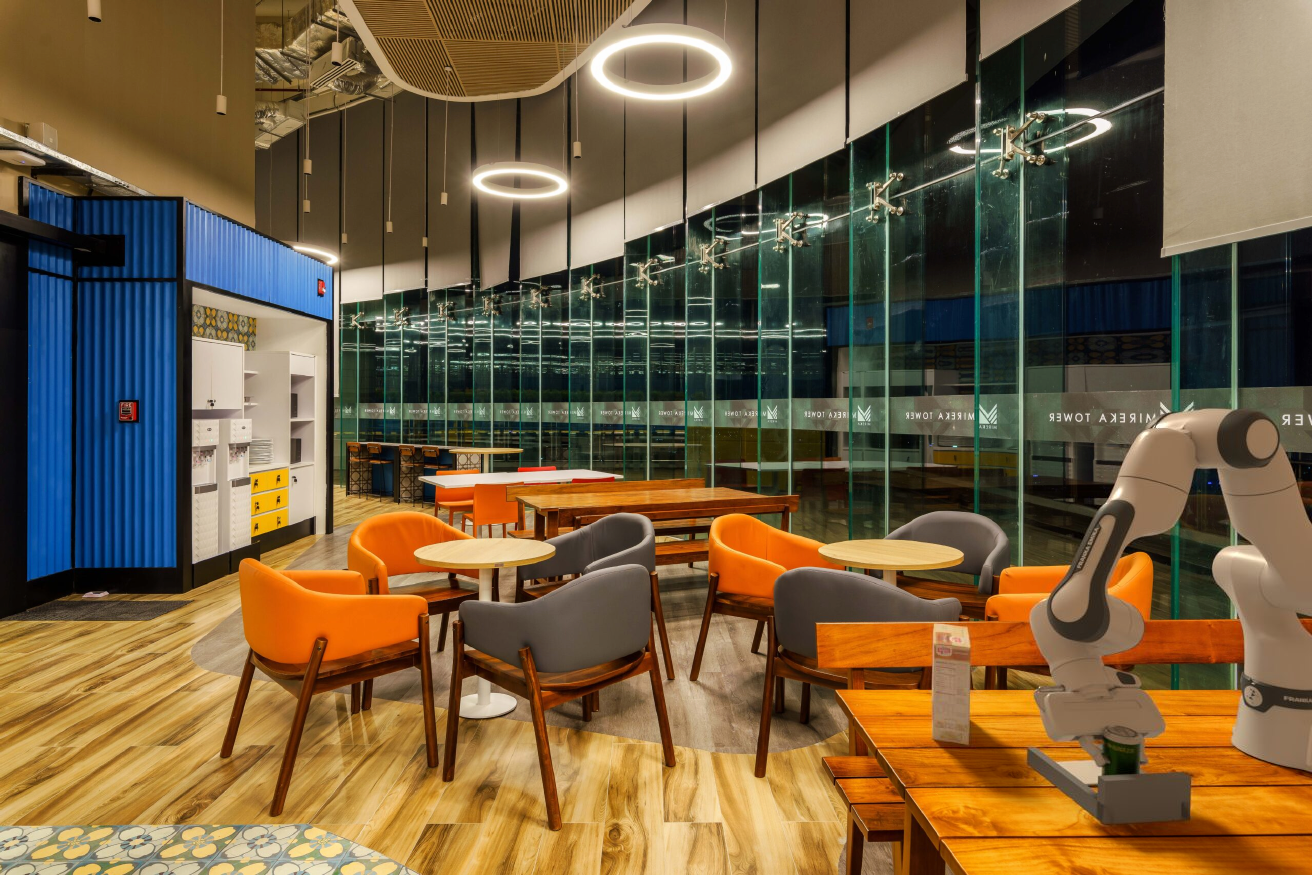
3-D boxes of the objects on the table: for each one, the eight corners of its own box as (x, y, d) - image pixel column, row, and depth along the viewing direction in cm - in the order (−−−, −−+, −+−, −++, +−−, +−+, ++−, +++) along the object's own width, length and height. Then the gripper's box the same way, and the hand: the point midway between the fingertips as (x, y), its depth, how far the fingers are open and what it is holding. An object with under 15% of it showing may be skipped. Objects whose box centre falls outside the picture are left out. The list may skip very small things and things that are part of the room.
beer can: (1145, 811, 118) (1147, 739, 117) (1110, 809, 119) (1112, 737, 118) (1128, 794, 123) (1130, 725, 123) (1094, 792, 124) (1096, 723, 123)
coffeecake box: (931, 710, 158) (933, 622, 157) (966, 716, 155) (968, 626, 154) (930, 739, 144) (932, 642, 143) (969, 745, 141) (971, 647, 140)
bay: (1101, 759, 136) (1102, 723, 135) (1190, 819, 116) (1191, 776, 115) (1026, 763, 134) (1027, 726, 134) (1103, 824, 114) (1105, 780, 114)
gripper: (1037, 678, 126) (1074, 760, 117) (1146, 675, 128) (1190, 755, 119) (1021, 694, 131) (1055, 774, 121) (1127, 690, 133) (1168, 768, 123)
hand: (1123, 764), depth 120 cm, fingers closed on beer can, 5 cm apart
